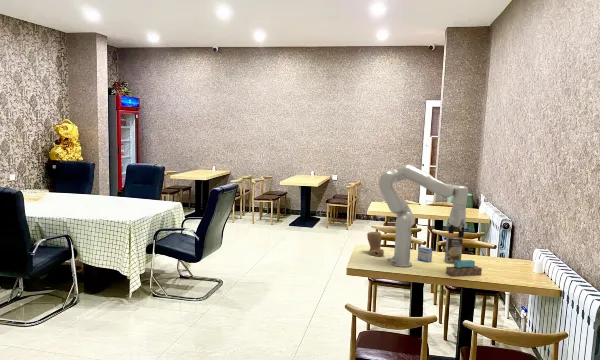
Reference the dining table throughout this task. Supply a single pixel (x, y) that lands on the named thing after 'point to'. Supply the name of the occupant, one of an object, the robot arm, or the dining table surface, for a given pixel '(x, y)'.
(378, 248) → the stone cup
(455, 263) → the clip
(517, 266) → the dining table surface
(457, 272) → the brown wooden candle holder
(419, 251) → the medicine box
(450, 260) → the coffee box
